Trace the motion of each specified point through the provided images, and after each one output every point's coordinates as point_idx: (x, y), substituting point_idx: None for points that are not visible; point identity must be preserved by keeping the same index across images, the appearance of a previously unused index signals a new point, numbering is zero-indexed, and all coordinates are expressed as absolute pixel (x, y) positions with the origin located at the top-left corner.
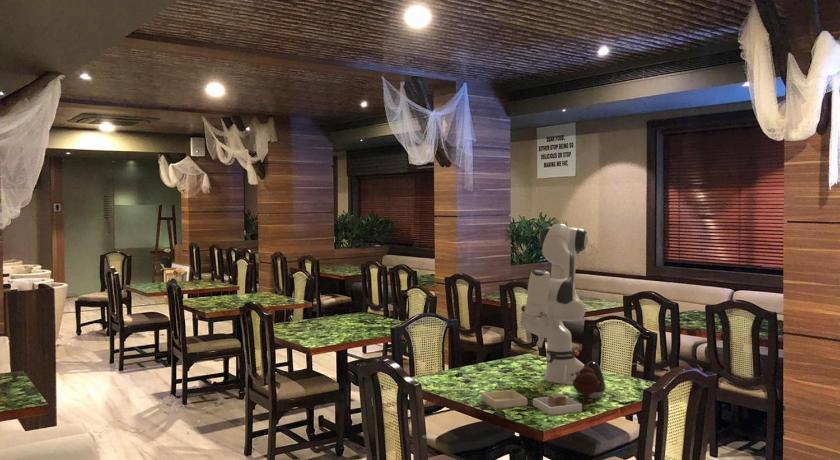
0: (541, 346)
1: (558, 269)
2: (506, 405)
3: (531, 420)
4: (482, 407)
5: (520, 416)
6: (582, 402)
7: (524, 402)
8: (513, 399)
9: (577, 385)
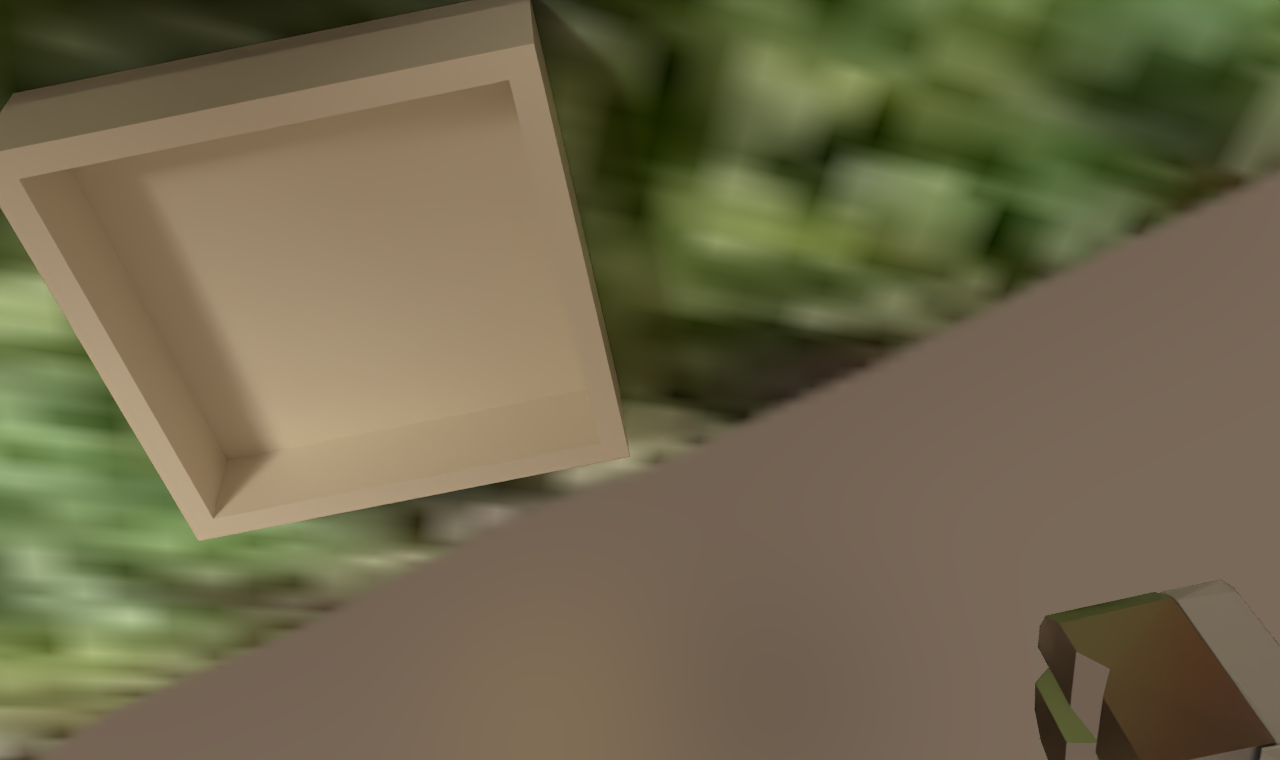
0: (1238, 612)
1: None
2: (597, 300)
3: (1113, 93)
4: None
5: (918, 179)
6: None
7: (541, 64)
8: (565, 249)
9: None
